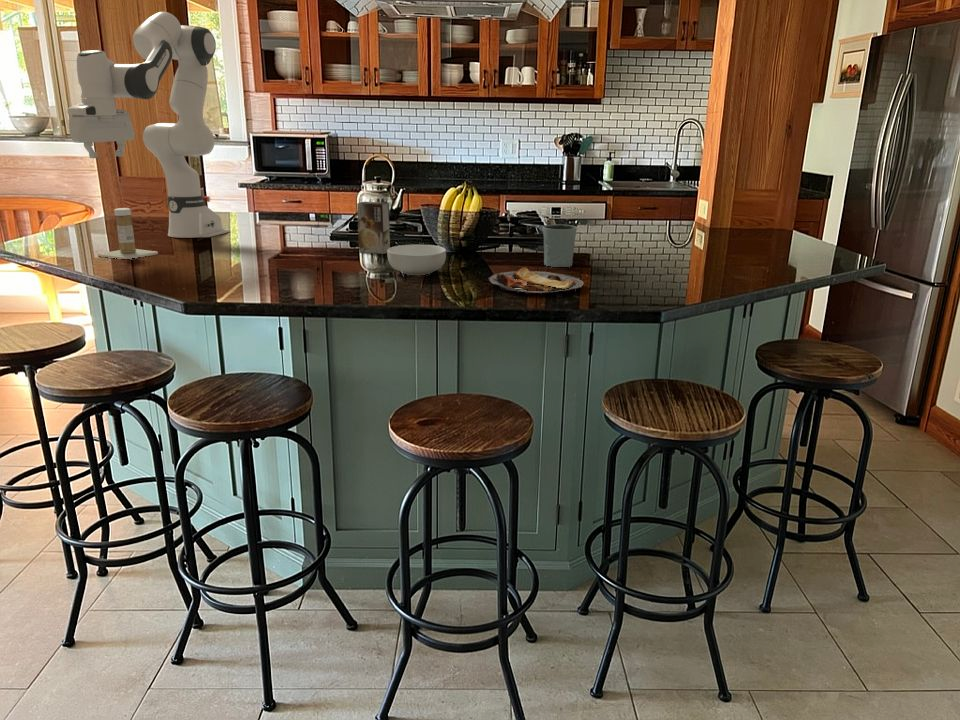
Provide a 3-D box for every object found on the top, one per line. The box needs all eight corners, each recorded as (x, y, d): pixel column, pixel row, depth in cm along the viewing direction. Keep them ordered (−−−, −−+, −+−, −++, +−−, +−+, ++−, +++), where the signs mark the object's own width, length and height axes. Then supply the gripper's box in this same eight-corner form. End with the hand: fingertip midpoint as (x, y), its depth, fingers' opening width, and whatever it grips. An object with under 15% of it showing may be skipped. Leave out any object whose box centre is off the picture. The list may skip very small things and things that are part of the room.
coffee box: (391, 251, 240) (390, 202, 235) (384, 254, 234) (383, 204, 229) (365, 249, 242) (364, 201, 237) (358, 252, 236) (356, 203, 231)
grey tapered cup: (576, 263, 226) (578, 225, 222) (571, 269, 216) (574, 229, 213) (544, 261, 228) (546, 223, 224) (538, 267, 219) (540, 227, 215)
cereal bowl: (381, 269, 211) (381, 245, 209) (435, 266, 217) (435, 243, 215) (396, 281, 196) (395, 255, 194) (453, 277, 202) (454, 252, 200)
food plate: (471, 284, 193) (472, 271, 192) (529, 274, 209) (529, 262, 208) (541, 304, 177) (542, 290, 176) (598, 291, 193) (599, 279, 191)
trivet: (130, 250, 231) (129, 248, 231) (158, 254, 226) (157, 251, 226) (97, 256, 220) (97, 253, 220) (126, 260, 216) (125, 257, 216)
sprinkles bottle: (133, 250, 226) (128, 207, 222) (138, 252, 223) (132, 208, 219) (118, 252, 223) (112, 208, 219) (122, 254, 220) (116, 209, 216)
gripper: (120, 108, 224) (127, 154, 229) (61, 108, 206) (70, 158, 211) (135, 109, 222) (142, 155, 226) (77, 109, 204) (85, 159, 209)
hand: (107, 157), depth 218 cm, fingers open, 8 cm apart
